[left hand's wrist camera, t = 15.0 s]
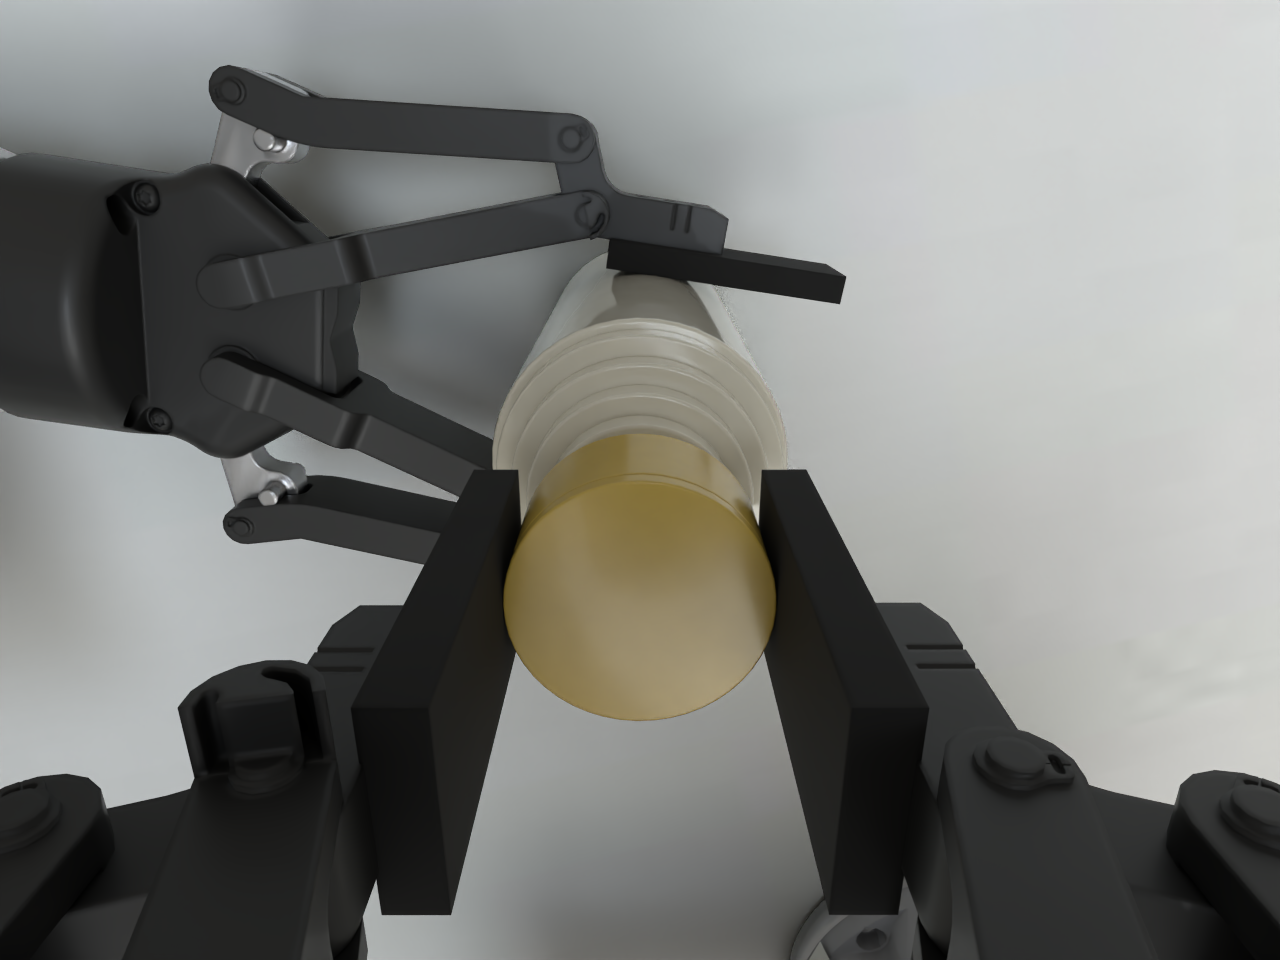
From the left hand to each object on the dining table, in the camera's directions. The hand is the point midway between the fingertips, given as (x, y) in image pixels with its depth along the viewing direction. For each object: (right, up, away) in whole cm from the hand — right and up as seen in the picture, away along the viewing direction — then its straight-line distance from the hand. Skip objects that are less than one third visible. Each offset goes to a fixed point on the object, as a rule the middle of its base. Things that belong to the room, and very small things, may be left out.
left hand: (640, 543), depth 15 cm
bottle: (0, +6, +16) cm, 18 cm away
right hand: (+5, +4, +11) cm, 13 cm away
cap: (0, -1, -2) cm, 2 cm away
